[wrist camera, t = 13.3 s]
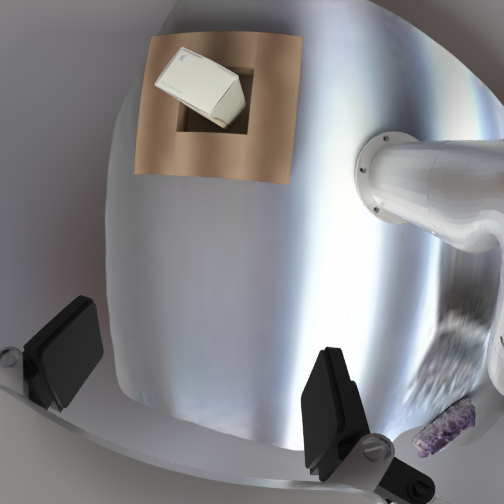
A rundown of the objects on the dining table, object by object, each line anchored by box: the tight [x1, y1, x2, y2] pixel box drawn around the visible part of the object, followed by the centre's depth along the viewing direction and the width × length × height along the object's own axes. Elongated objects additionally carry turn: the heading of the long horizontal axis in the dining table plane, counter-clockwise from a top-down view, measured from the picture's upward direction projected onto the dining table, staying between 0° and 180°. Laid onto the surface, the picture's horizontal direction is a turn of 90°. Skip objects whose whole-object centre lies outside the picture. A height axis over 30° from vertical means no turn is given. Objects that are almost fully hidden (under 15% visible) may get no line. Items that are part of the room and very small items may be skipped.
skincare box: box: [155, 47, 246, 130], centre depth 24 cm, size 6×4×12 cm
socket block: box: [135, 31, 303, 185], centre depth 29 cm, size 18×18×5 cm
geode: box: [413, 396, 476, 458], centre depth 46 cm, size 20×12×10 cm, turn 152°
